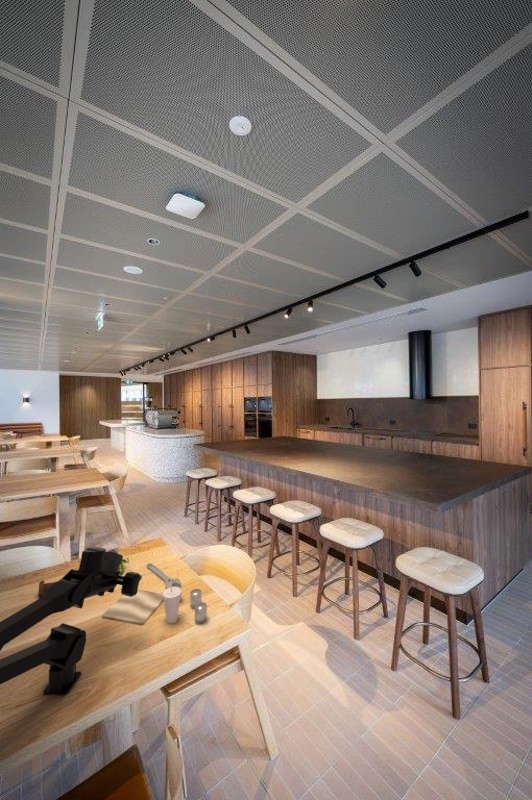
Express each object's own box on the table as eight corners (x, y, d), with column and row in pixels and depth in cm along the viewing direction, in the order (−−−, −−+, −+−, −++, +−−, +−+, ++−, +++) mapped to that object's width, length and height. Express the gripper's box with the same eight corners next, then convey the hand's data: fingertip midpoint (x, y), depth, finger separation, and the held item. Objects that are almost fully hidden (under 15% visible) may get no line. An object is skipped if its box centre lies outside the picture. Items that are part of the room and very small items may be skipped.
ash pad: (142, 625, 109) (142, 622, 109) (101, 617, 113) (101, 615, 113) (167, 596, 125) (167, 594, 125) (130, 590, 128) (130, 588, 128)
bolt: (83, 589, 132) (38, 600, 124) (83, 578, 136) (39, 588, 128) (84, 580, 130) (38, 591, 122) (83, 569, 133) (39, 579, 125)
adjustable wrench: (145, 568, 146) (145, 564, 146) (159, 563, 150) (159, 559, 150) (169, 594, 127) (169, 589, 127) (184, 587, 131) (184, 583, 131)
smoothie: (174, 610, 117) (174, 572, 116) (185, 618, 113) (185, 579, 112) (158, 620, 112) (158, 580, 111) (169, 629, 108) (169, 587, 107)
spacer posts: (199, 626, 109) (199, 611, 109) (168, 601, 122) (168, 588, 122) (217, 614, 115) (217, 600, 115) (185, 592, 128) (185, 579, 127)
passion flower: (103, 584, 141) (94, 558, 145) (129, 571, 148) (120, 546, 152) (106, 581, 133) (97, 552, 137) (133, 567, 140) (123, 540, 144)
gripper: (126, 560, 96) (157, 553, 110) (78, 550, 102) (114, 544, 116) (117, 603, 93) (151, 590, 107) (68, 590, 99) (106, 579, 113)
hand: (130, 574), depth 111 cm, fingers open, 9 cm apart
